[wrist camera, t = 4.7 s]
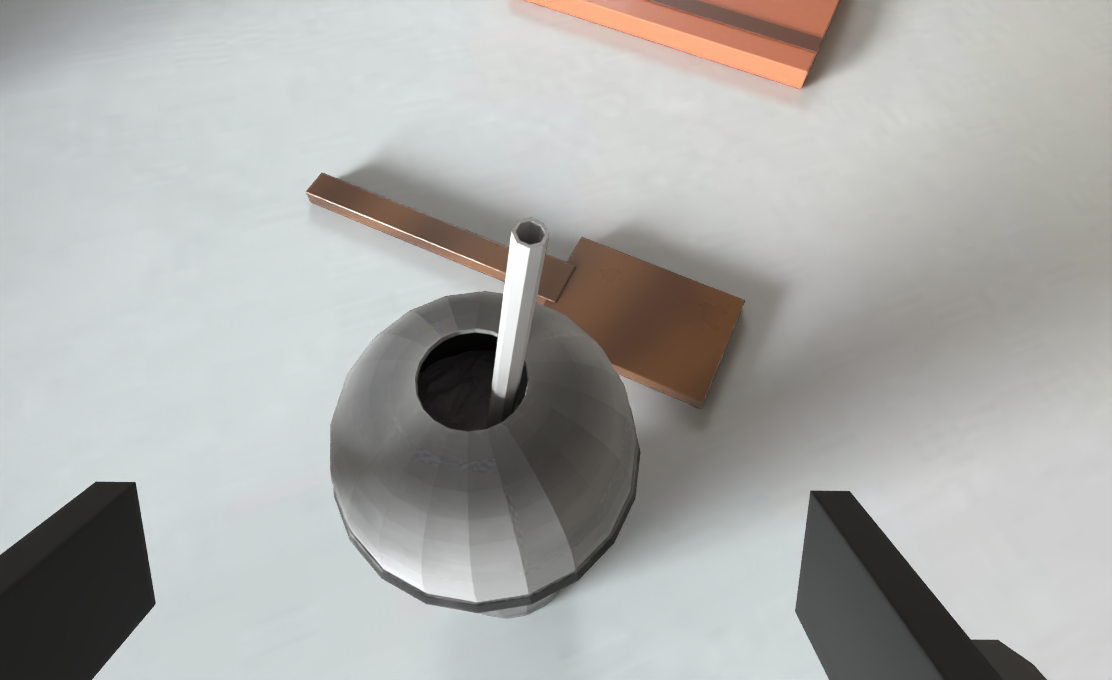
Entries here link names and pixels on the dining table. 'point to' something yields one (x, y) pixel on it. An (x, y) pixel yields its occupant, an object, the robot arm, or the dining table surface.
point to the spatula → (582, 293)
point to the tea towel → (721, 29)
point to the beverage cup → (485, 447)
